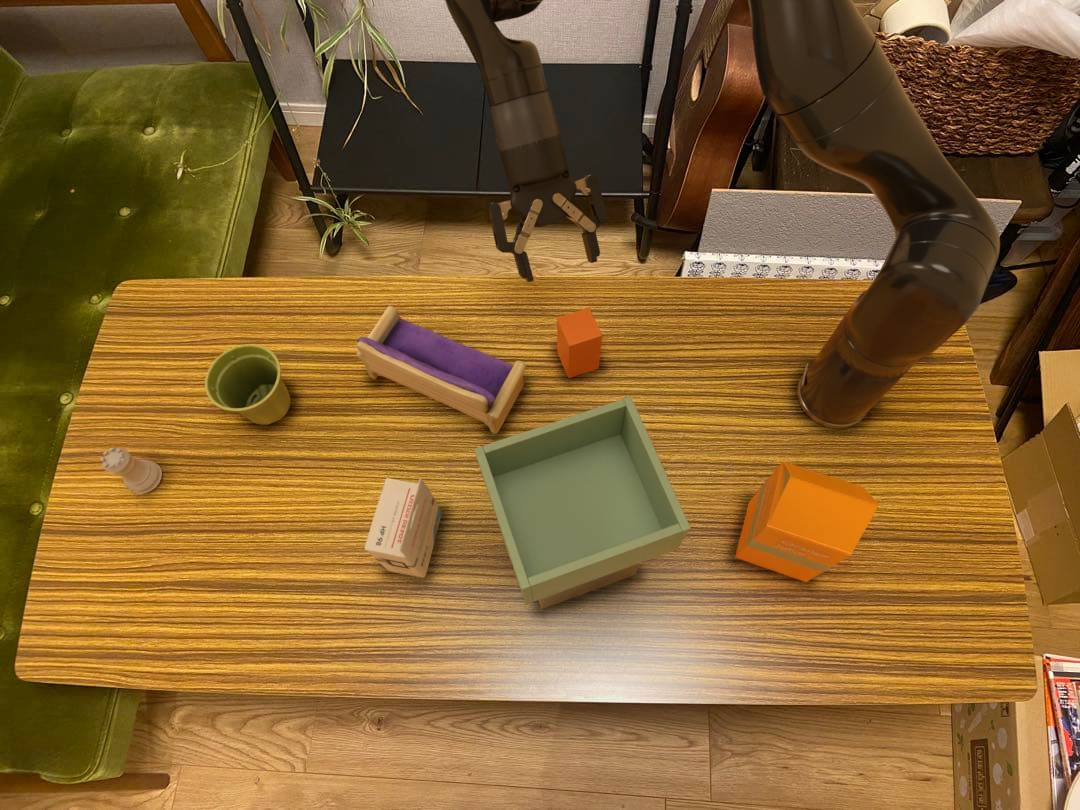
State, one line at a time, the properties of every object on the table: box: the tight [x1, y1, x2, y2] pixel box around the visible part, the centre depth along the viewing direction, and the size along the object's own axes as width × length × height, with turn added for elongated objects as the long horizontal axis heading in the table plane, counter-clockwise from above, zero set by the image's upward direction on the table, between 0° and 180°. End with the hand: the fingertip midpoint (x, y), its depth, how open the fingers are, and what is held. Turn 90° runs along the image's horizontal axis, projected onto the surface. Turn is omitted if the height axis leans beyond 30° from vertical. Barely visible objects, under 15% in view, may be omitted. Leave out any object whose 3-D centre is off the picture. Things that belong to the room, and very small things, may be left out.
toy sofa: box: [355, 305, 527, 435], centre depth 92 cm, size 21×9×10 cm, turn 64°
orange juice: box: [734, 460, 880, 583], centre depth 77 cm, size 8×9×20 cm
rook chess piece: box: [100, 447, 163, 495], centre depth 88 cm, size 4×4×8 cm
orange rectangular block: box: [556, 307, 603, 379], centre depth 94 cm, size 4×4×9 cm
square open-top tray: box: [473, 395, 692, 605], centre depth 67 cm, size 16×14×8 cm
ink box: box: [364, 477, 443, 578], centre depth 81 cm, size 9×5×15 cm, turn 168°
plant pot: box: [204, 343, 292, 426], centre depth 92 cm, size 9×9×9 cm
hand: (561, 271), depth 90 cm, fingers open, 8 cm apart
